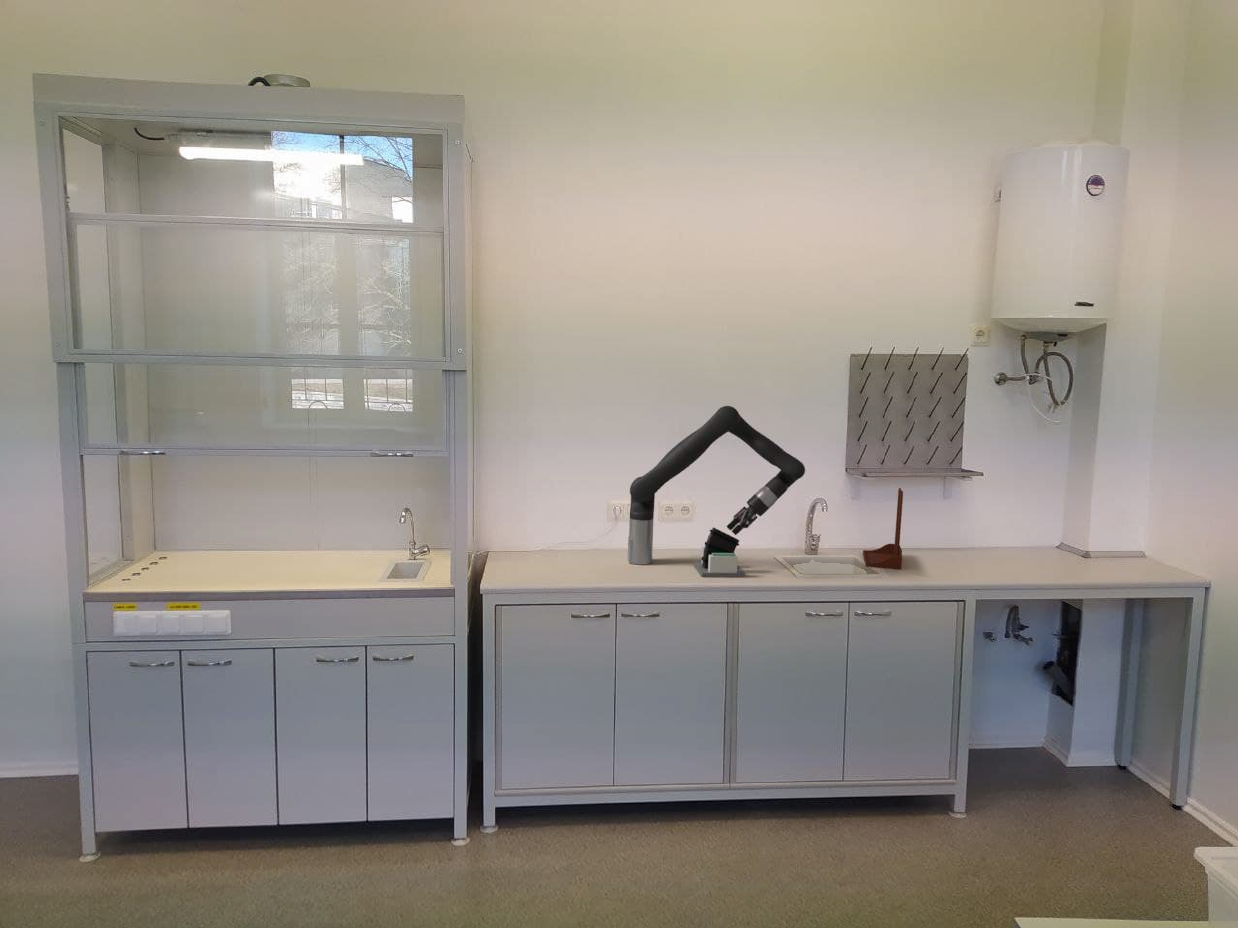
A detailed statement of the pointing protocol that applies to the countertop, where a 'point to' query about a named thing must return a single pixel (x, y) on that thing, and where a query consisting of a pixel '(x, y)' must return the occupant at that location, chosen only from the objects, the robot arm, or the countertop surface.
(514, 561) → the countertop surface
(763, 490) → the robot arm
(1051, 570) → the countertop surface
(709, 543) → the magazine
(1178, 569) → the countertop surface
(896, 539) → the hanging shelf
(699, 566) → the mounting plate
